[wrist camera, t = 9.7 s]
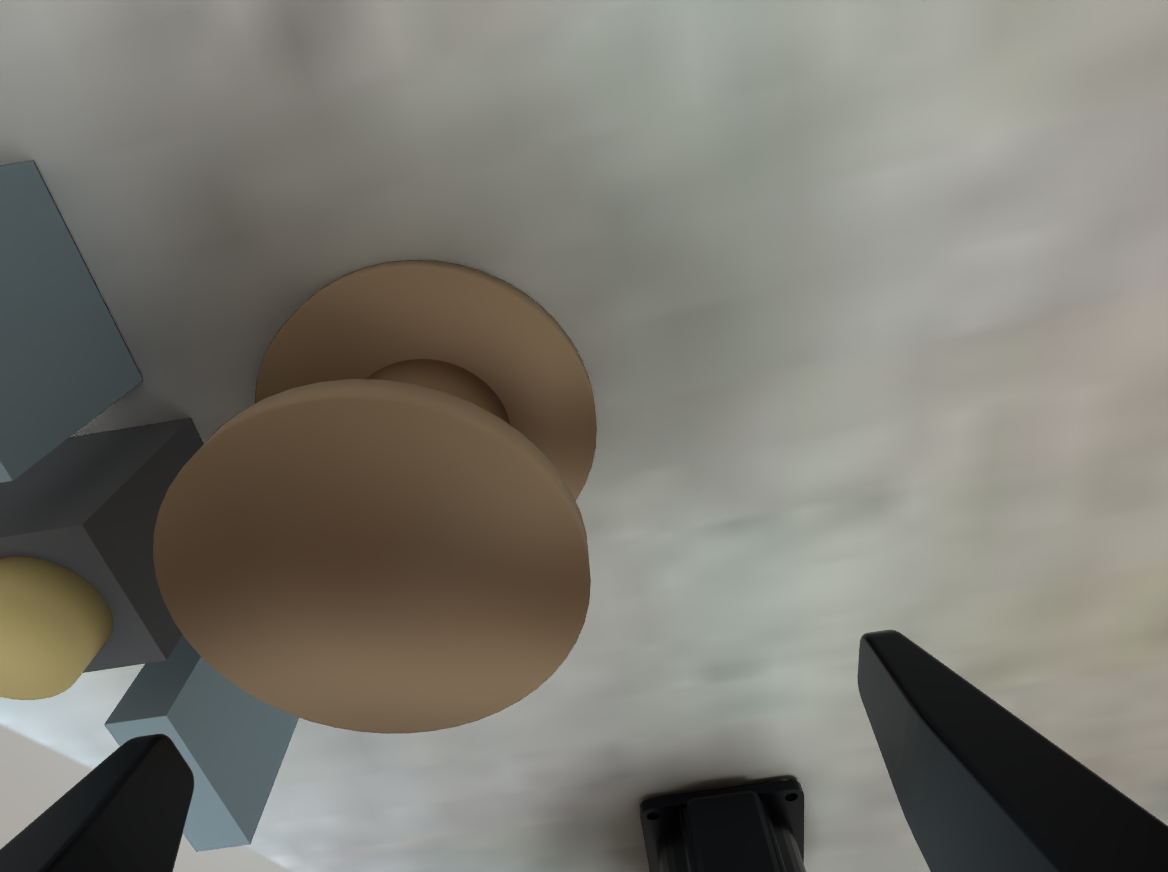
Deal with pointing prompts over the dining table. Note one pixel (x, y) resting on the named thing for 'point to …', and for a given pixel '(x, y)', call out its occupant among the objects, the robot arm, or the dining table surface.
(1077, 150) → the dining table surface
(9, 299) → the grey blocks
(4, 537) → the dark gray rectangular block
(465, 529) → the bobbin
